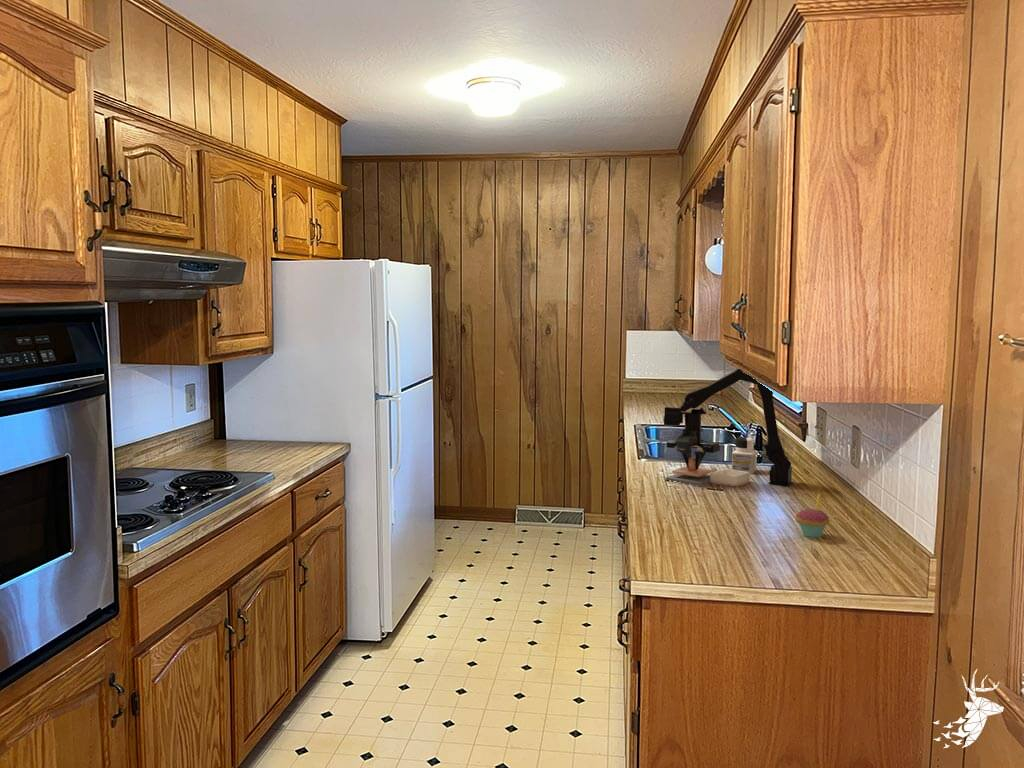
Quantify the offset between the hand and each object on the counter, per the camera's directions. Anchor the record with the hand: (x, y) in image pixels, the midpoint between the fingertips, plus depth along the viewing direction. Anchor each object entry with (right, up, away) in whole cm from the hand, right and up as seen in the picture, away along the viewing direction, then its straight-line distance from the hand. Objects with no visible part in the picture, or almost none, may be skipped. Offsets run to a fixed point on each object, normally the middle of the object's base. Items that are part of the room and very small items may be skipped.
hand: (692, 468), depth 275 cm
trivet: (0, -4, 0) cm, 4 cm away
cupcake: (+17, -11, -67) cm, 70 cm away
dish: (+12, -4, -4) cm, 14 cm away
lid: (0, -1, 0) cm, 1 cm away
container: (+23, -3, +14) cm, 27 cm away
